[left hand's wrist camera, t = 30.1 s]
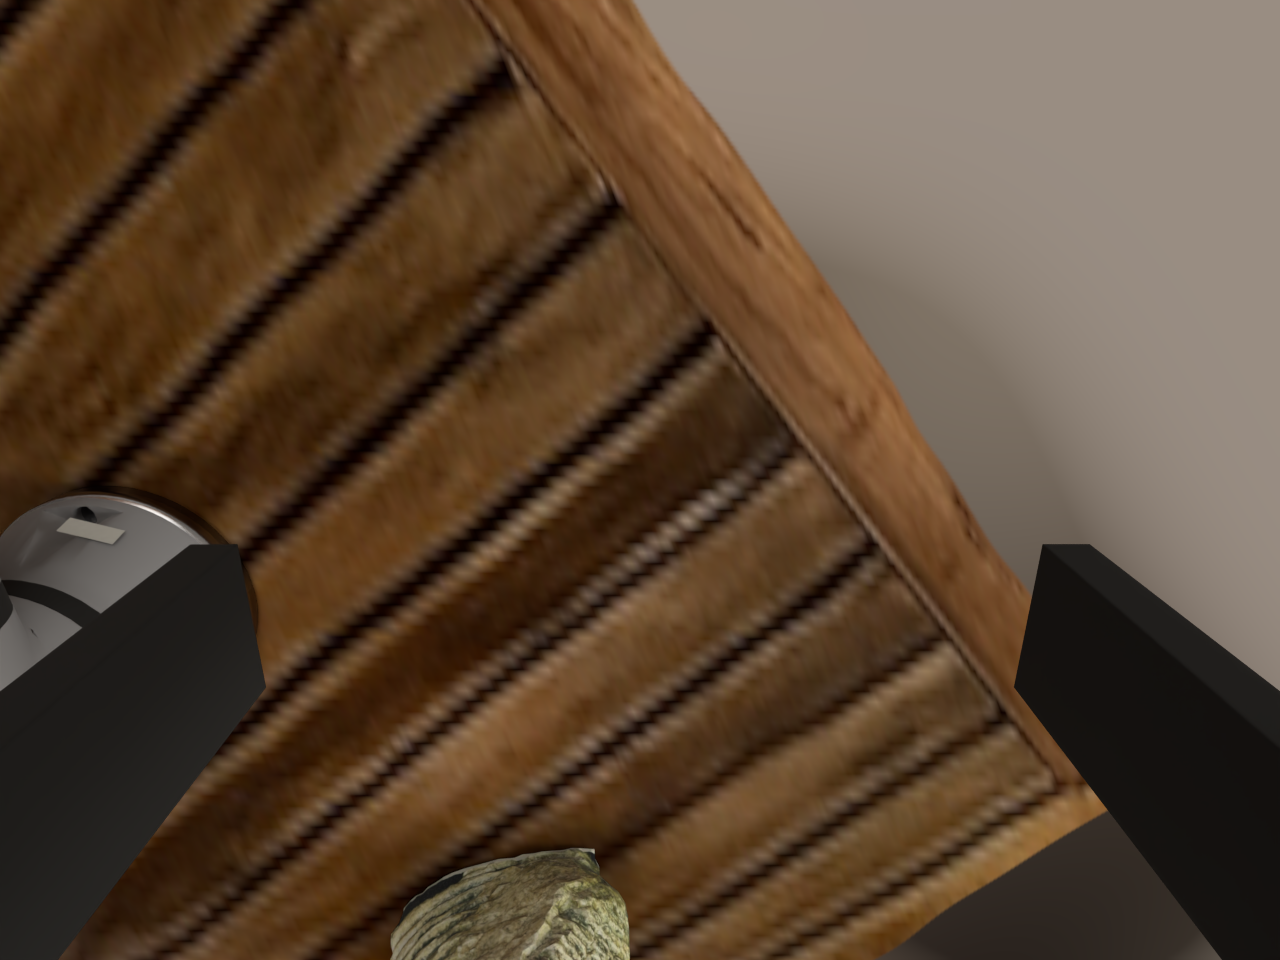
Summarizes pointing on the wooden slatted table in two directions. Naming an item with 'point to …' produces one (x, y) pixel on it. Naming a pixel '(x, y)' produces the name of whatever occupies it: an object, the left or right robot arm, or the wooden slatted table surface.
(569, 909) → the fossil
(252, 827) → the wooden slatted table surface
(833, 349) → the wooden slatted table surface
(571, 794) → the wooden slatted table surface
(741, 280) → the wooden slatted table surface
